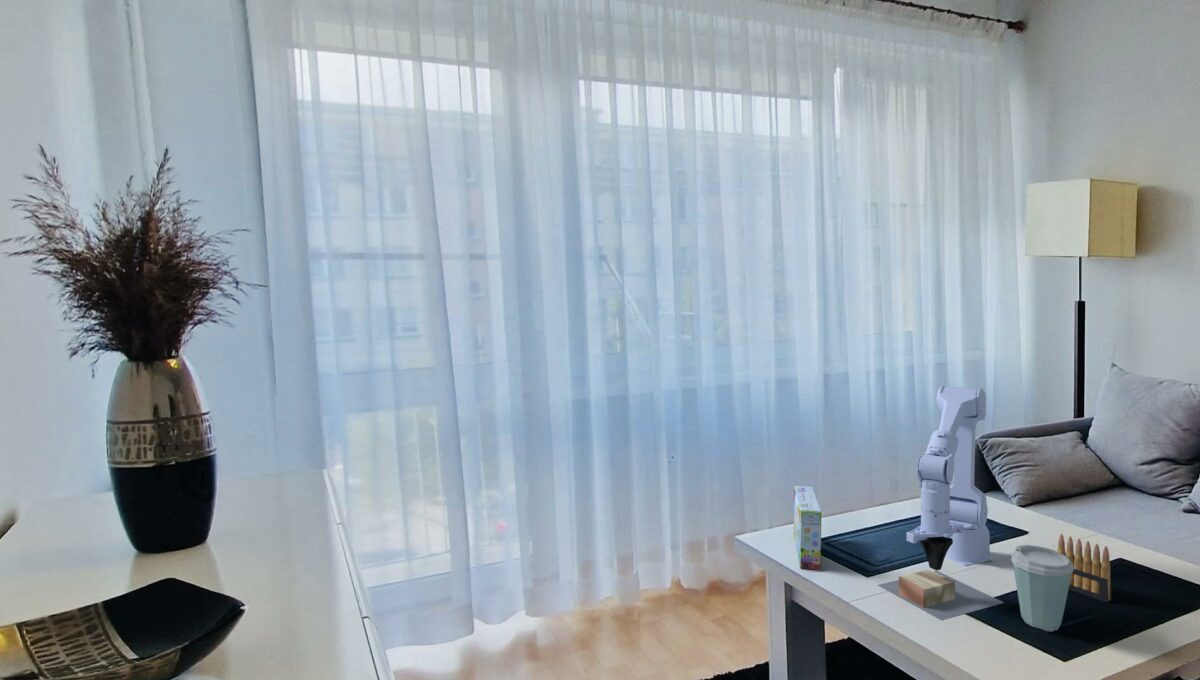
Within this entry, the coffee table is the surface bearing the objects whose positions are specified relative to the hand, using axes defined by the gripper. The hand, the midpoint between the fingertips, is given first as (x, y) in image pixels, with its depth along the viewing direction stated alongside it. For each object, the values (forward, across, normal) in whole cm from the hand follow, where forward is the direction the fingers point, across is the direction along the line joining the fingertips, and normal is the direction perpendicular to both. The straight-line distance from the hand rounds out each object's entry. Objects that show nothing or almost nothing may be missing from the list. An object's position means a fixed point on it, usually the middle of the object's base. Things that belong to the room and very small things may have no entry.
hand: (935, 568), depth 150 cm
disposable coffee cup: (+7, +9, -18) cm, 21 cm away
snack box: (+7, -10, +32) cm, 34 cm away
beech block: (+4, +2, 0) cm, 4 cm away
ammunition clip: (+7, +30, -12) cm, 33 cm away
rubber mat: (+6, +1, 0) cm, 6 cm away
